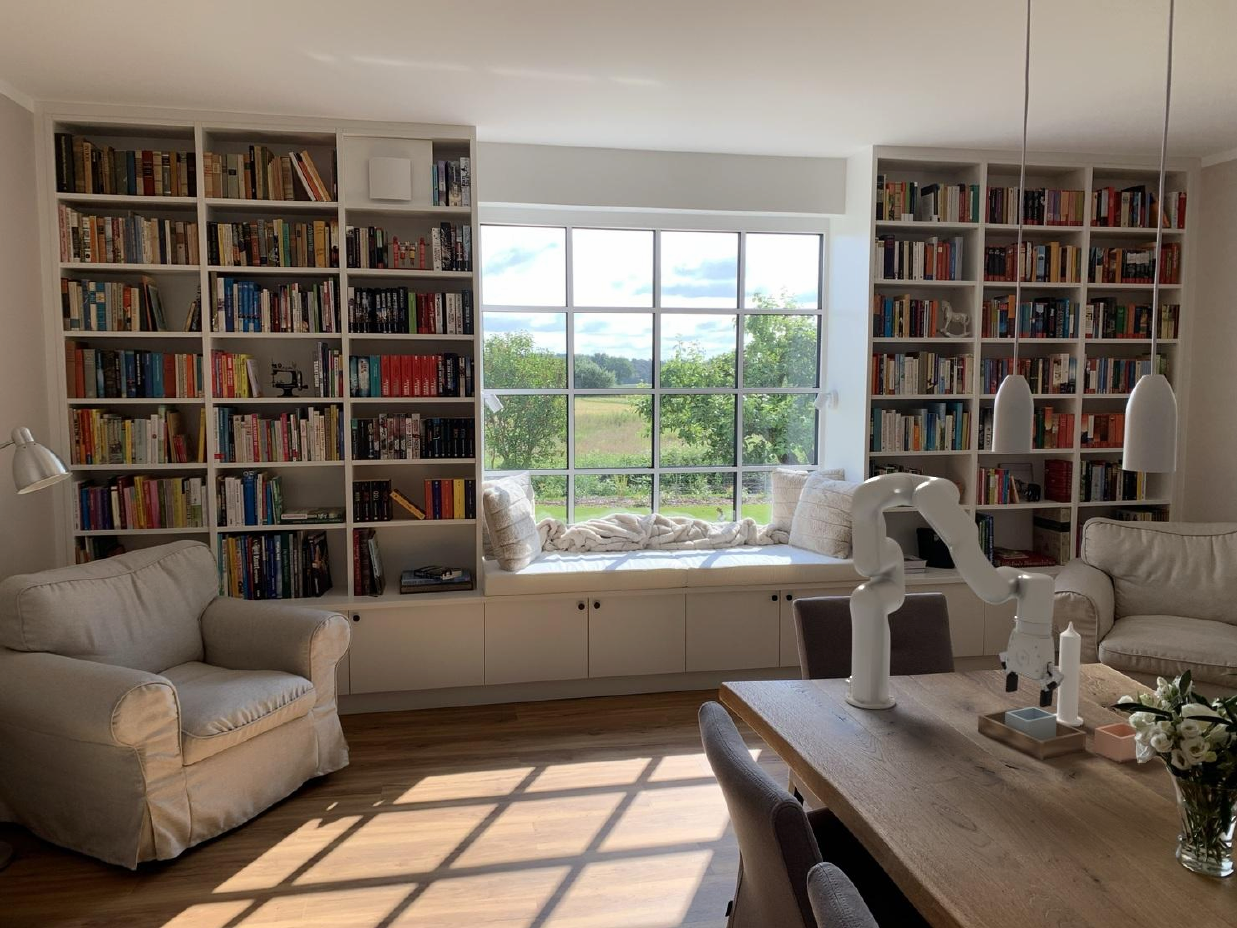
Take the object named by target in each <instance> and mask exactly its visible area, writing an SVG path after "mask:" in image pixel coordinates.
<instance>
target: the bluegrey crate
mask: <svg viewBox="0 0 1237 928" xmlns="http://www.w3.org/2000/svg"><path fill="white" fill-rule="evenodd" d="M1053 714H1054V713H1051V712H1048V711H1045V710H1043V709H1040V708H1038V707H1036V706H1030V707H1024V709H1019V710H1014V711H1009V712H1005V725H1006V726H1008V727H1010V728H1013V729H1015V730H1017V731H1020V732H1022V733H1024V734H1027V735H1029V736H1031V737H1034V738H1036V739H1038V740H1041V741H1042V740H1047V739H1051V738H1055V737H1056V722H1057V716H1056V715H1053Z"/></svg>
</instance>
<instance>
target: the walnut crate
mask: <svg viewBox="0 0 1237 928" xmlns="http://www.w3.org/2000/svg"><path fill="white" fill-rule="evenodd" d="M1024 708H1025V707H1023V706H1018V707H1012V708H1008V709H1003V710H999V711H993V712H988V713H983V714H978V715H977V716H978V717H977V718H978V721H977V722H978V724H977V733H978V732H979V734H980V733H981V734H983V735H985V736H987V737H989V738H991V739H993V740H994V741H995V740H996V741H998V742H1000V743H1002V744H1004V745H1007V746H1009V747H1010V748H1011V747H1012V749H1013V748H1014V749H1015V750H1018V751H1019V752H1022V753H1024V754H1027V755H1028V756H1031V757H1033V758H1035V759H1037V760H1040V761H1043V760H1044V761H1045V760H1047V759H1051V758H1055V757H1060V756H1064V755H1069V754H1073V753H1077V751H1078V752H1081V751H1080V750H1082V751H1084V750H1083V749H1086V748H1087V747H1086V746H1087V744H1086V743H1087V732H1086V731H1084V730H1081V729H1079V728H1075V726H1069V725H1066V724H1064V723H1061V722H1059V721H1057V722H1056V737H1055V738H1051V739H1047V740H1042V741H1041V740H1038V739H1036V738H1034V737H1031V736H1029V735H1027V734H1024V733H1022V732H1020V731H1017V730H1015V729H1013V728H1010V727H1008V726H1006V725H1005V712H1009V711H1014V710H1019V709H1024ZM1068 753H1069V754H1068Z"/></svg>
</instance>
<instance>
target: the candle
mask: <svg viewBox="0 0 1237 928" xmlns="http://www.w3.org/2000/svg"><path fill="white" fill-rule="evenodd" d="M1081 642H1082V637H1081V635H1080V634H1079V633H1078V632H1077V631H1075V629H1074V624H1073V622H1072V621H1069V624H1068V627H1067V629H1066V630H1064V631H1063V632H1061V633H1060V634H1059V656H1058V657H1059V658H1058V670H1059V671H1060V672H1061V673H1062V674H1063V675H1064V679H1063V681H1062V682H1061V685H1060V686H1059V687H1057V703H1056V704H1057V707H1056V713H1052V714H1053V715H1056V716H1057V721H1059V722H1061V723H1064V724H1066V725H1069V726H1071V727H1081V726H1082V725H1084V720H1083V718H1082V717H1080V716H1078V713H1079V691H1080V689H1079V687H1080V671H1081V669H1080V666H1081V664H1080V663H1081V644H1082V643H1081ZM1080 725H1081V726H1080Z"/></svg>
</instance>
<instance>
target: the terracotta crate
mask: <svg viewBox="0 0 1237 928" xmlns="http://www.w3.org/2000/svg"><path fill="white" fill-rule="evenodd" d="M1135 734H1136V732H1135V731H1134V730H1133V729H1132V728H1131V727H1130V724H1128V723H1126V722H1117V723H1113V724H1109V725H1104V726H1100V727H1096V728H1094V743H1093V745H1094V746H1093V752H1094V754H1097V753H1099V754H1101V755H1100V756H1102V755H1103V756H1102V757H1104V756H1105V758H1107V759H1109V758H1111V759H1113V760H1112V761H1114V760H1115V761H1114V762H1116V761H1118V762H1117V763H1119V764H1123V763H1126V762H1125V761H1127V762H1131V761H1135V760H1136V759H1135V743H1134V736H1135ZM1099 754H1098V755H1099ZM1133 758H1134V760H1132V759H1133ZM1111 759H1110V760H1111ZM1130 760H1131V761H1130ZM1122 762H1123V763H1122Z"/></svg>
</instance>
